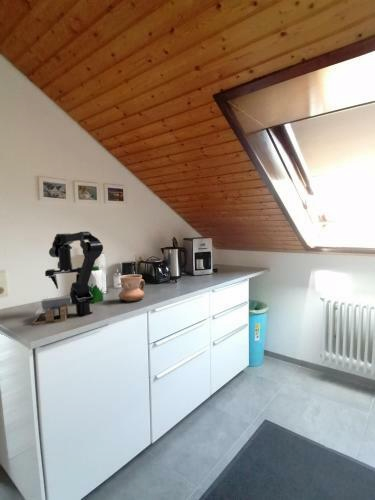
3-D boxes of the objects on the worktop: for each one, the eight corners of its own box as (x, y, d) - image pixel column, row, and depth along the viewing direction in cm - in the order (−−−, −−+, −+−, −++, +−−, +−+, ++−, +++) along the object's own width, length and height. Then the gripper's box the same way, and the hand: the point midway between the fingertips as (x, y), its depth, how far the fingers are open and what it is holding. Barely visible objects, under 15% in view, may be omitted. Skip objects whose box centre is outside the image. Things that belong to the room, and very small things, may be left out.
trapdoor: (59, 315, 132) (57, 308, 132) (36, 319, 129) (35, 313, 129) (62, 308, 144) (60, 302, 143) (41, 312, 141) (40, 306, 141)
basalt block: (44, 306, 139) (71, 302, 143) (42, 308, 135) (70, 304, 139) (43, 299, 139) (70, 295, 143) (41, 301, 135) (69, 297, 138)
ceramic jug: (126, 305, 155) (125, 279, 154) (112, 300, 165) (111, 276, 164) (152, 299, 168) (152, 275, 167) (138, 295, 178) (137, 272, 177)
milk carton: (105, 300, 168) (103, 266, 167) (93, 304, 160) (91, 268, 159) (95, 298, 173) (93, 266, 171) (83, 302, 165) (80, 268, 164)
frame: (65, 320, 131) (64, 309, 131) (32, 325, 127) (31, 312, 127) (68, 311, 146) (67, 301, 146) (39, 315, 142) (38, 304, 142)
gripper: (84, 255, 157) (86, 283, 159) (47, 257, 152) (49, 286, 153) (83, 257, 147) (86, 287, 148) (43, 259, 141) (46, 290, 142)
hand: (67, 287), depth 148 cm, fingers open, 9 cm apart
